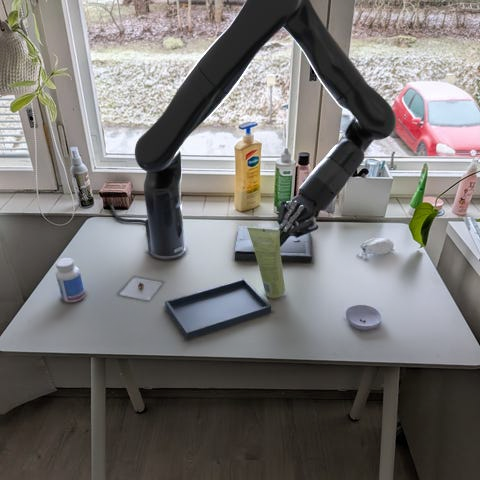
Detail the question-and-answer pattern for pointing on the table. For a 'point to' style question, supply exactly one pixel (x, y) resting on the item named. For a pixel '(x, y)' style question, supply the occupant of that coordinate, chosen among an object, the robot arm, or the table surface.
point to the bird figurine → (376, 246)
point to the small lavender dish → (363, 317)
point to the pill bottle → (69, 280)
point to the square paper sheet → (141, 288)
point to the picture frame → (290, 250)
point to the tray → (216, 308)
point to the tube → (269, 259)
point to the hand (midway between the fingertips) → (274, 245)
